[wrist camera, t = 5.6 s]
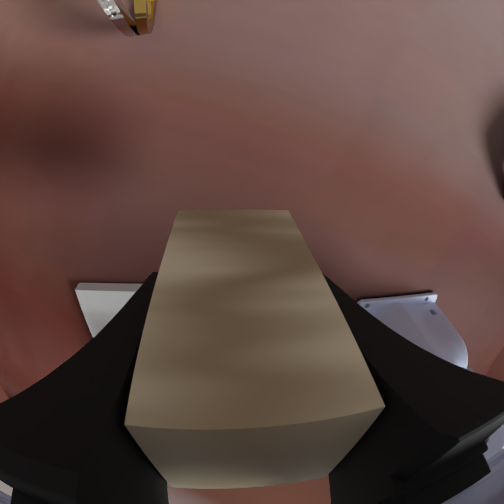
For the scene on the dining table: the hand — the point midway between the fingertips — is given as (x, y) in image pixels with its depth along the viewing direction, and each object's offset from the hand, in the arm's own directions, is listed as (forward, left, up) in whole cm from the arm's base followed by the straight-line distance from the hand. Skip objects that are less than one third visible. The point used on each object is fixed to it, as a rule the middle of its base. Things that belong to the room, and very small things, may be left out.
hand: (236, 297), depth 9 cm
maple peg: (0, 0, -2) cm, 2 cm away
